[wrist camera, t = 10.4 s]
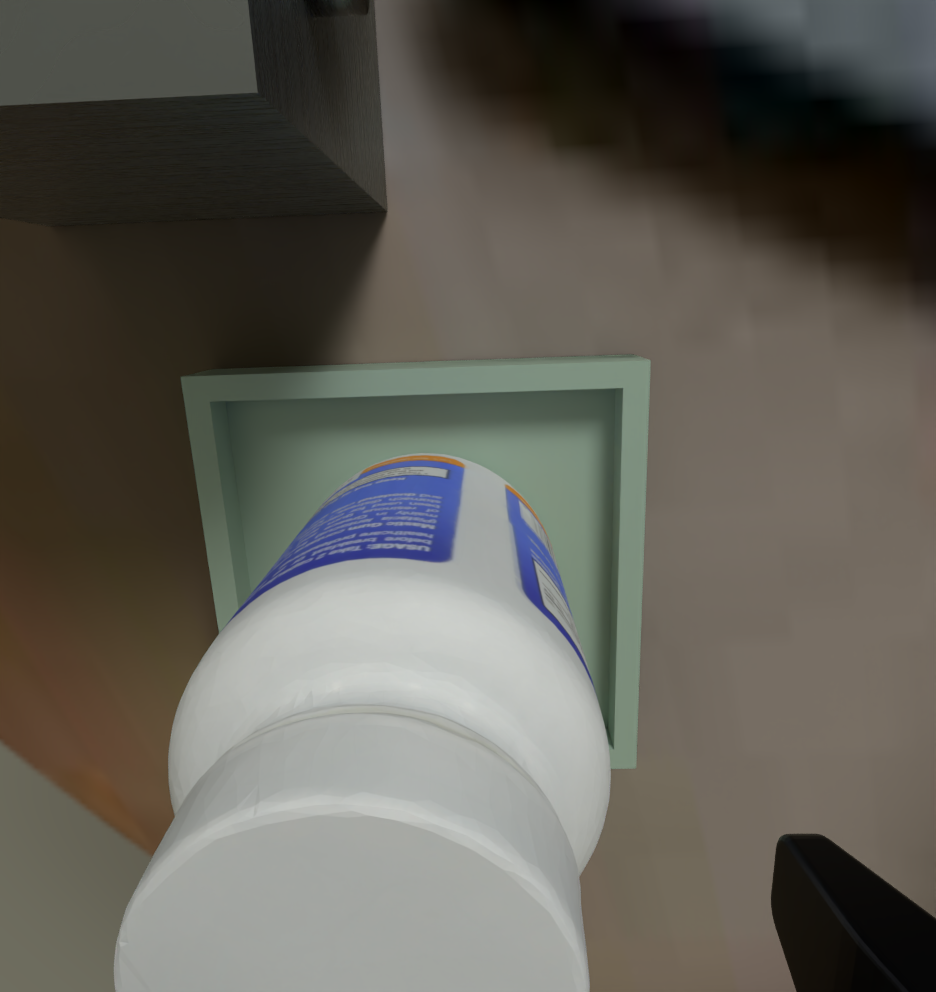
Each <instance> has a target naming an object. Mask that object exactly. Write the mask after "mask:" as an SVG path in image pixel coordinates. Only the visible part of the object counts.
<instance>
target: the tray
mask: <svg viewBox="0 0 936 992" xmlns="http://www.w3.org/2000/svg"><path fill="white" fill-rule="evenodd" d="M650 363H651V360H648V359H645V358H642V357H639V356H637V355H634V354H627V355H599V356H571V357H542V358H514V359H485V360H457V361H428V362H400V363H371V364H343V365H314V366H286V367H257V368H229V369H211V370H207V371H202V372H198V373H194V374H190V375H186V376H181V384H182V391H183V397H184V404H185V411H186V417H187V424H188V431H189V437H190V444H191V450H192V457H193V464H194V470H195V477H196V484H197V490H198V497H199V504H200V510H201V517H202V524H203V530H204V537H205V544H206V550H207V557H208V564H209V570H210V577H211V584H212V590H213V597H214V604H215V610H216V617H217V624H218V630H219V633H220V632H221V631H222V630H223V628H224V627H225V626H226V625H227V623H228V622H229V621H230V619H231V618H232V617H233V616H234V614H235V613H236V612H237V611H238V609H239V608H240V607H241V606H242V605H243V603H244V602H245V601H246V600H247V598H248V597H249V596H250V595H251V593H252V592H253V591H254V590H255V588H256V587H257V586H258V585H259V583H260V582H261V581H262V580H263V578H264V577H265V576H266V575H267V573H268V572H269V571H270V569H271V568H272V567H273V566H274V564H275V563H276V562H277V561H278V559H279V558H280V557H281V555H282V554H283V553H284V552H285V550H286V549H287V548H288V546H289V545H290V544H291V543H292V541H293V540H294V539H295V537H296V536H297V535H298V534H299V532H300V531H301V530H302V529H303V528H304V526H305V525H306V524H307V522H308V521H309V520H310V518H311V517H312V516H313V515H314V514H315V512H316V511H317V510H318V508H319V507H320V506H321V505H322V504H323V502H324V501H325V500H326V499H327V498H328V497H329V496H330V495H331V494H332V493H333V492H334V491H335V490H336V489H337V488H338V487H339V486H340V485H342V484H343V483H344V482H345V481H347V480H348V479H349V478H351V477H352V476H354V475H355V474H356V473H358V472H360V471H361V470H363V469H365V468H367V467H369V466H371V465H373V464H375V463H378V462H381V461H383V460H386V459H390V458H393V457H397V456H402V455H408V454H417V453H435V454H445V455H450V456H455V457H459V458H462V459H465V460H468V461H471V462H473V463H476V464H479V465H481V466H483V467H485V468H487V469H489V470H490V471H492V472H493V473H495V474H497V475H498V476H500V477H501V478H502V479H504V480H505V481H506V482H508V483H509V484H510V485H511V486H512V487H513V488H514V489H515V490H516V491H518V492H519V493H520V494H521V495H522V496H523V498H524V499H525V500H526V501H527V502H528V504H529V505H530V506H531V508H532V509H533V510H534V512H535V513H536V515H537V516H538V518H539V520H540V522H541V523H542V525H543V527H544V529H545V531H546V533H547V536H548V538H549V540H550V543H551V545H552V548H553V552H554V555H555V559H556V562H557V566H558V569H559V572H560V575H561V579H562V582H563V586H564V590H565V593H566V596H567V600H568V603H569V607H570V610H571V613H572V616H573V619H574V623H575V626H576V630H577V633H578V636H579V639H580V643H581V646H582V649H583V652H584V655H585V659H586V662H587V665H588V669H589V672H590V675H591V678H592V681H593V685H594V688H595V692H596V695H597V699H598V703H599V706H600V710H601V714H602V717H603V721H604V725H605V729H606V734H607V739H608V745H609V753H610V767H611V769H629V768H636V756H637V728H638V700H639V672H640V644H641V616H642V588H643V560H644V532H645V504H646V476H647V448H648V420H649V392H650Z"/></svg>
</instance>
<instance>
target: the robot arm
mask: <svg viewBox="0 0 936 992" xmlns="http://www.w3.org/2000/svg"><path fill="white" fill-rule="evenodd" d="M771 908H772V915H773V919H774V923H775V927H776V930H777V933H778V936H779V939H780V942H781V945H782V949H783V952H784V955H785V958H786V961H787V964H788V967H789V970H790V973H791V976H792V979H793V982H794V985H795V988H796V992H936V918H934V917H933V916H932V915H930V914H929V913H928V912H926V911H925V910H924V909H922V908H921V907H920V906H918V905H917V904H916V903H914V902H913V901H912V900H910V899H909V898H908V897H906V896H905V895H903V894H902V893H901V892H899V891H898V890H897V889H895V888H894V887H893V886H891V885H890V884H889V883H887V882H886V881H885V880H883V879H882V878H881V877H879V876H878V875H877V874H875V873H874V872H873V871H871V870H870V869H869V868H867V867H866V866H865V865H863V864H862V863H861V862H859V861H858V860H857V859H855V858H854V857H853V856H851V855H850V854H848V853H847V852H846V851H844V850H843V849H842V848H840V847H839V846H838V845H836V844H835V843H834V842H832V841H831V840H830V839H828V838H826V837H825V836H823V835H820V834H785V835H783V836H781V837H780V838H779V840H778V842H777V846H776V854H775V863H774V873H773V883H772V892H771Z"/></svg>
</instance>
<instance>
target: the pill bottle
mask: <svg viewBox="0 0 936 992" xmlns="http://www.w3.org/2000/svg"><path fill="white" fill-rule="evenodd" d="M168 774H169V789H170V796H171V802H172V807H173V811H174V814H175V818H174V819H173V821H172V823H171V825H170V827H169V829H168V830H167V832H166V834H165V836H164V837H163V839H162V841H161V843H160V844H159V846H158V848H157V850H156V852H155V853H154V855H153V857H152V859H151V861H150V863H149V864H148V866H147V868H146V870H145V872H144V874H143V876H142V878H141V880H140V882H139V884H138V886H137V888H136V890H135V892H134V893H133V895H132V897H131V899H130V901H129V903H128V905H127V907H126V910H125V913H124V916H123V919H122V922H121V926H120V930H119V935H118V938H117V942H116V949H115V958H114V983H115V992H589V989H590V980H589V971H588V961H587V951H586V942H585V935H584V928H583V919H582V910H581V888H580V881H579V876H580V875H581V873H582V871H583V870H584V868H585V866H586V865H587V863H588V861H589V859H590V857H591V855H592V854H593V851H594V849H595V847H596V845H597V842H598V840H599V837H600V834H601V831H602V828H603V825H604V821H605V817H606V812H607V808H608V803H609V798H610V781H611V767H610V753H609V745H608V739H607V734H606V729H605V725H604V721H603V717H602V714H601V710H600V706H599V703H598V699H597V695H596V692H595V688H594V685H593V681H592V678H591V675H590V672H589V669H588V665H587V662H586V659H585V655H584V652H583V649H582V646H581V643H580V639H579V636H578V633H577V630H576V626H575V623H574V619H573V616H572V613H571V610H570V607H569V603H568V600H567V596H566V593H565V590H564V586H563V582H562V579H561V575H560V572H559V569H558V566H557V562H556V559H555V555H554V552H553V548H552V545H551V543H550V540H549V538H548V536H547V533H546V531H545V529H544V527H543V525H542V523H541V522H540V520H539V518H538V516H537V515H536V513H535V512H534V510H533V509H532V508H531V506H530V505H529V504H528V502H527V501H526V500H525V499H524V498H523V496H522V495H521V494H520V493H519V492H518V491H516V490H515V489H514V488H513V487H512V486H511V485H510V484H509V483H508V482H506V481H505V480H504V479H502V478H501V477H500V476H498V475H497V474H495V473H493V472H492V471H490V470H489V469H487V468H485V467H483V466H481V465H479V464H476V463H473V462H471V461H468V460H465V459H462V458H459V457H455V456H450V455H445V454H435V453H417V454H408V455H402V456H397V457H393V458H390V459H386V460H383V461H381V462H378V463H375V464H373V465H371V466H369V467H367V468H365V469H363V470H361V471H360V472H358V473H356V474H355V475H354V476H352V477H351V478H349V479H348V480H347V481H345V482H344V483H343V484H342V485H340V486H339V487H338V488H337V489H336V490H335V491H334V492H333V493H332V494H331V495H330V496H329V497H328V498H327V499H326V500H325V501H324V502H323V504H322V505H321V506H320V507H319V508H318V510H317V511H316V512H315V514H314V515H313V516H312V517H311V518H310V520H309V521H308V522H307V524H306V525H305V526H304V528H303V529H302V530H301V531H300V532H299V534H298V535H297V536H296V537H295V539H294V540H293V541H292V543H291V544H290V545H289V546H288V548H287V549H286V550H285V552H284V553H283V554H282V555H281V557H280V558H279V559H278V561H277V562H276V563H275V564H274V566H273V567H272V568H271V569H270V571H269V572H268V573H267V575H266V576H265V577H264V578H263V580H262V581H261V582H260V583H259V585H258V586H257V587H256V588H255V590H254V591H253V592H252V593H251V595H250V596H249V597H248V598H247V600H246V601H245V602H244V603H243V605H242V606H241V607H240V608H239V609H238V611H237V612H236V613H235V614H234V616H233V617H232V618H231V619H230V621H229V622H228V623H227V625H226V626H225V627H224V628H223V630H222V631H221V632H220V633H219V635H218V636H217V637H216V639H215V640H214V642H213V643H212V644H211V646H210V647H209V649H208V650H207V652H206V653H205V655H204V656H203V658H202V659H201V661H200V662H199V664H198V666H197V668H196V669H195V671H194V673H193V674H192V676H191V678H190V680H189V682H188V684H187V686H186V689H185V691H184V693H183V695H182V698H181V700H180V703H179V705H178V708H177V711H176V715H175V718H174V722H173V727H172V732H171V738H170V745H169V754H168Z"/></svg>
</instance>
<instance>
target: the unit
mask: <svg viewBox="0 0 936 992" xmlns="http://www.w3.org/2000/svg"><path fill="white" fill-rule="evenodd" d="M365 212H387V196H386V180H385V165H384V149H383V134H382V118H381V102H380V87H379V71H378V56H377V40H376V24H375V9H374V0H0V218H5V219H10V220H16V221H22V222H27V223H33V224H39V225H44V226H67V225H90V224H113V223H136V222H159V221H182V220H205V219H228V218H251V217H274V216H297V215H319V214H342V213H365Z"/></svg>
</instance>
